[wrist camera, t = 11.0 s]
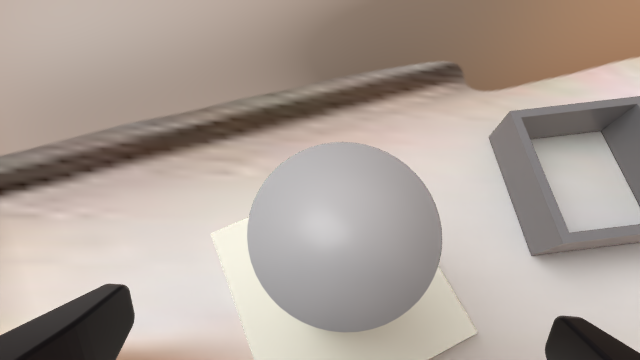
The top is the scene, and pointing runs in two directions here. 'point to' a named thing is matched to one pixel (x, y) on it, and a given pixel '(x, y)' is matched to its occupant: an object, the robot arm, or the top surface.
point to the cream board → (328, 346)
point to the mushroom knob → (344, 237)
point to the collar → (530, 181)
